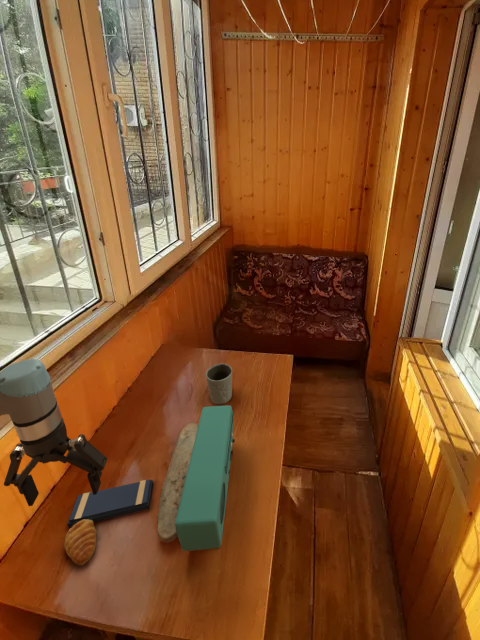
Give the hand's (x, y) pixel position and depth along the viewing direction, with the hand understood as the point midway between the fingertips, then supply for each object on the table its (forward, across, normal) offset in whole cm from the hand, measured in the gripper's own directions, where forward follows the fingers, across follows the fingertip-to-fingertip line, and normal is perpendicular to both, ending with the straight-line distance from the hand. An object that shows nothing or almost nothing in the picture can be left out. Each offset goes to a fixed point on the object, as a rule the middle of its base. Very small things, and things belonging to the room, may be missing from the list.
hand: (66, 494), depth 74 cm
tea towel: (+18, -5, -8) cm, 20 cm away
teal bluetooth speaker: (+18, -33, -6) cm, 38 cm away
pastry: (+18, 0, +1) cm, 18 cm away
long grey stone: (+18, -23, -12) cm, 32 cm away
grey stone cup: (+18, -34, -43) cm, 58 cm away
